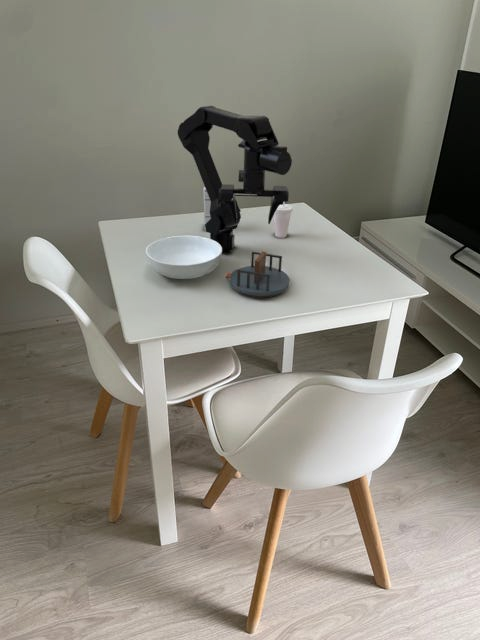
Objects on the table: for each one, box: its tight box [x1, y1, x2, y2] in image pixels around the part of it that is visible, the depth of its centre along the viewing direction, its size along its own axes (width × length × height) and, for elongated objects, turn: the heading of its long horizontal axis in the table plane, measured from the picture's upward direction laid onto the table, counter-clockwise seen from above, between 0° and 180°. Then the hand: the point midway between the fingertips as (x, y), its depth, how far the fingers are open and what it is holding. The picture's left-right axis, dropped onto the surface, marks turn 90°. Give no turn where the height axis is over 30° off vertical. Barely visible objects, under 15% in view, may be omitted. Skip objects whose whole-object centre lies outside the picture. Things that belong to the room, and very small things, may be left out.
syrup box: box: [202, 185, 211, 232], centre depth 171 cm, size 6×6×14 cm
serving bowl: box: [145, 234, 223, 280], centre depth 144 cm, size 21×21×7 cm
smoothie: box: [273, 202, 294, 239], centre depth 166 cm, size 6×6×14 cm
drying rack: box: [225, 250, 291, 296], centre depth 137 cm, size 17×16×7 cm
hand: (252, 223), depth 146 cm, fingers open, 9 cm apart
